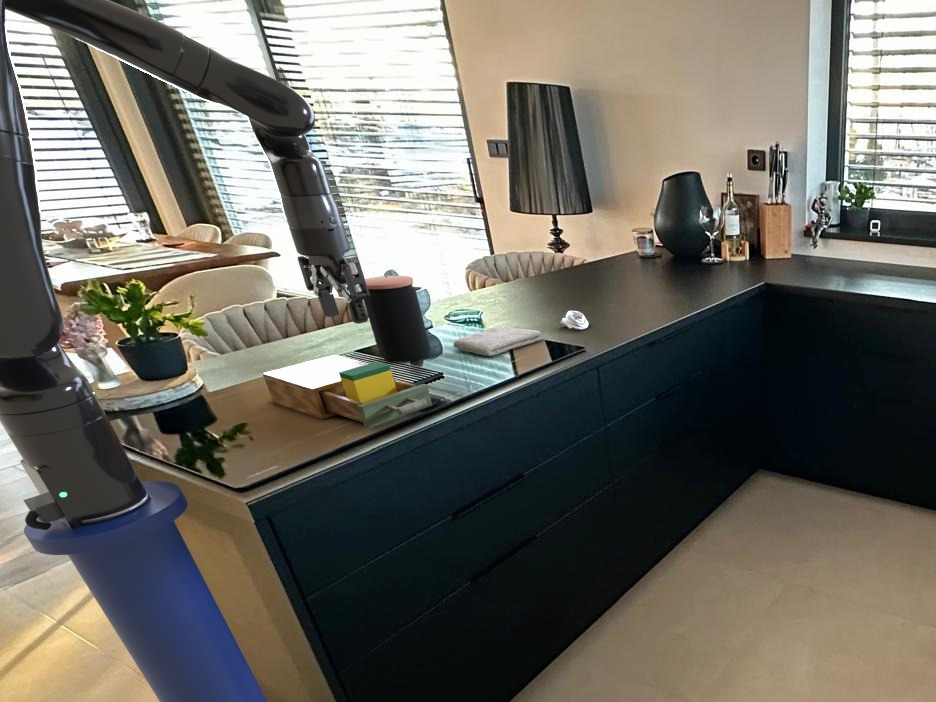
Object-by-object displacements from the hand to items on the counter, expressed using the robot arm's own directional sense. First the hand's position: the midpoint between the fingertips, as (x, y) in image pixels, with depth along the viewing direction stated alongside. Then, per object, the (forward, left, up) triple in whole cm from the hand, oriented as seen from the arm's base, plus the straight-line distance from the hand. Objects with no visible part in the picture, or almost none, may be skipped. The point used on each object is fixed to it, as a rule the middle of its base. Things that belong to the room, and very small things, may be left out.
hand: (346, 319), depth 111 cm
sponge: (0, 0, -16) cm, 16 cm away
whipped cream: (+63, +11, -19) cm, 67 cm away
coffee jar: (+24, +27, -19) cm, 41 cm away
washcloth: (+41, +15, -19) cm, 48 cm away
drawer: (0, -2, -18) cm, 18 cm away
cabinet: (0, +14, -18) cm, 23 cm away
